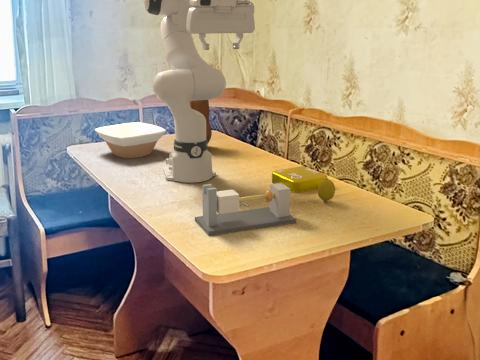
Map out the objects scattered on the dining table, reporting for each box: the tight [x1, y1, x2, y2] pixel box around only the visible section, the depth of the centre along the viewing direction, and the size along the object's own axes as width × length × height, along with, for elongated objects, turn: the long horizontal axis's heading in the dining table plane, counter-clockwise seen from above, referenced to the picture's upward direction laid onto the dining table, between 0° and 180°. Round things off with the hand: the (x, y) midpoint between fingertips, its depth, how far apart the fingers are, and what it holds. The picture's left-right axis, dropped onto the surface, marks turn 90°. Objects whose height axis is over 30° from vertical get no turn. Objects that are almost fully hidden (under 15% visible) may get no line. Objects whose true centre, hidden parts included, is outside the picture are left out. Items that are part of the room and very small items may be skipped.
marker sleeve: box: [216, 189, 240, 214], centre depth 167 cm, size 5×6×5 cm
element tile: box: [271, 165, 328, 194], centre depth 206 cm, size 15×15×5 cm
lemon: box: [316, 177, 336, 203], centre depth 188 cm, size 6×6×8 cm
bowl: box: [94, 121, 167, 160], centre depth 243 cm, size 24×25×11 cm
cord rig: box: [194, 183, 297, 237], centre depth 169 cm, size 12×27×12 cm, turn 112°
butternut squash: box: [190, 100, 213, 144], centre depth 250 cm, size 14×13×25 cm
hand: (221, 49), depth 172 cm, fingers open, 8 cm apart
